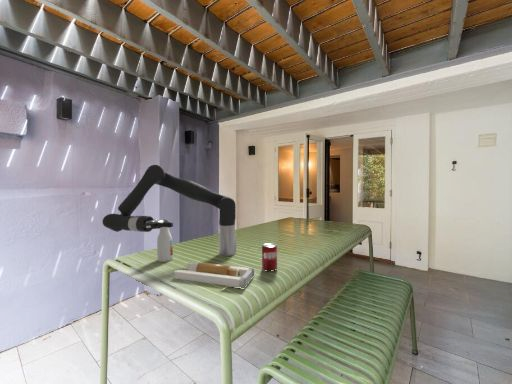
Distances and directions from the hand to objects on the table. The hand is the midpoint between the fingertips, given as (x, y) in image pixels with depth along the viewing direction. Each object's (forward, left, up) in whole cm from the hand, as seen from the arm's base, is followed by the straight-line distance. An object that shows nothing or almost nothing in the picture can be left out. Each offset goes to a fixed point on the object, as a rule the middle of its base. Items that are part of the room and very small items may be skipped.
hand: (172, 224), depth 110 cm
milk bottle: (-10, -19, -23) cm, 31 cm away
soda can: (-27, +36, -23) cm, 51 cm away
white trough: (-6, +21, -23) cm, 31 cm away
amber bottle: (-4, +13, -19) cm, 24 cm away
